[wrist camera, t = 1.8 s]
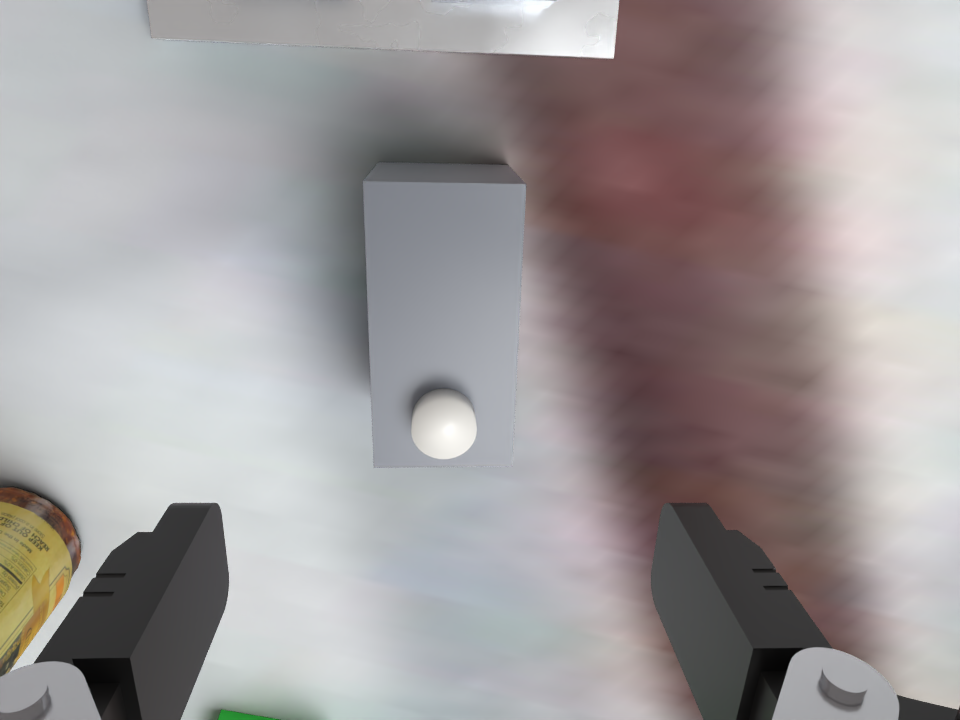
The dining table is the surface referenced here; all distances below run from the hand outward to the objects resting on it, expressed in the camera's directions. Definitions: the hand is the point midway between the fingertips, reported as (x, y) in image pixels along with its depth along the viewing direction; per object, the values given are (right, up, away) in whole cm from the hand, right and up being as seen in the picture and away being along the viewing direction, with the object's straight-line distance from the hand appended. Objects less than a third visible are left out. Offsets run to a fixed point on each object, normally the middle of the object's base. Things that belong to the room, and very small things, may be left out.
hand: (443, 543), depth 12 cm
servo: (-1, +6, +16) cm, 17 cm away
